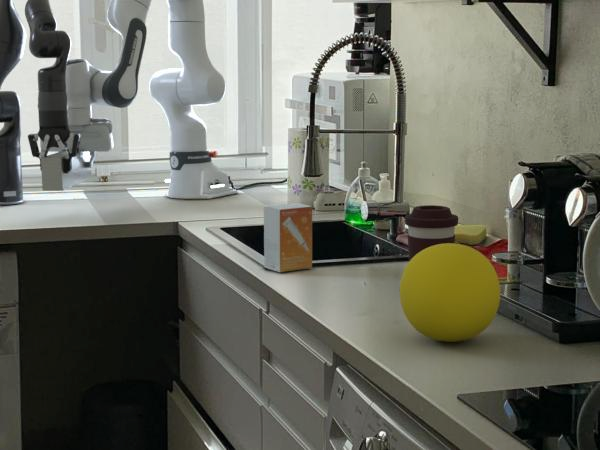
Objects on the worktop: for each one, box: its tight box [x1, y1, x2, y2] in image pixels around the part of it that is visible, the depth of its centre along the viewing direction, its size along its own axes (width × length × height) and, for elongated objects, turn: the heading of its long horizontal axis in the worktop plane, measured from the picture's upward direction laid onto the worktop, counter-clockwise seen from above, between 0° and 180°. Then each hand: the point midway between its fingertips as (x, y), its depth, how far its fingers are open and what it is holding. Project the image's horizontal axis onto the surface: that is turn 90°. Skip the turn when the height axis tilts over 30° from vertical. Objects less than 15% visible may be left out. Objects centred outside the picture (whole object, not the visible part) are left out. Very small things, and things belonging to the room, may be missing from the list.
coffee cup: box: [404, 204, 459, 262], centre depth 197 cm, size 10×10×15 cm
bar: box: [40, 150, 93, 192], centre depth 284 cm, size 26×5×9 cm, turn 175°
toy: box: [399, 243, 501, 343], centre depth 160 cm, size 15×15×15 cm
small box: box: [263, 202, 313, 273], centre depth 214 cm, size 8×6×13 cm
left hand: (56, 172), depth 275 cm, fingers closed on bar, 5 cm apart
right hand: (78, 167), depth 293 cm, fingers closed on bar, 5 cm apart
